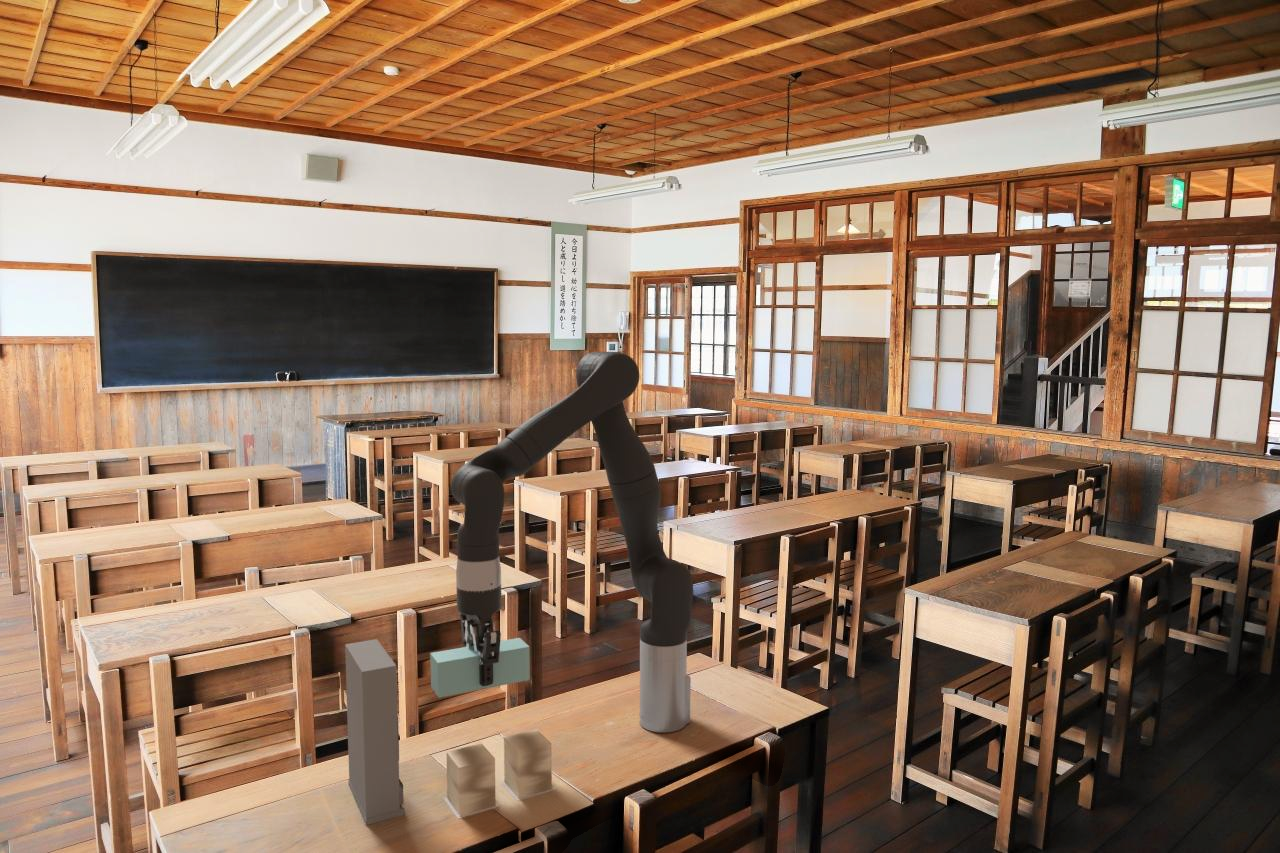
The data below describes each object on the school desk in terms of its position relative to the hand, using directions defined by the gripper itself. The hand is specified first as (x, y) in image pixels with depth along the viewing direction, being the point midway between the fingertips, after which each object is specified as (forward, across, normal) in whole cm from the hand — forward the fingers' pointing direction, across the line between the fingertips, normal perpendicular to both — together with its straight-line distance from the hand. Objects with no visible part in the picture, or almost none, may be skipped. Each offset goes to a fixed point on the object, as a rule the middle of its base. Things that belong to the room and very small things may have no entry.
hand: (480, 678), depth 145 cm
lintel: (+1, 0, 0) cm, 1 cm away
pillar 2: (+17, -8, -5) cm, 19 cm away
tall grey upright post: (+18, 0, +18) cm, 25 cm away
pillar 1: (+17, -8, +5) cm, 19 cm away
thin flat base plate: (+17, -8, 0) cm, 19 cm away
